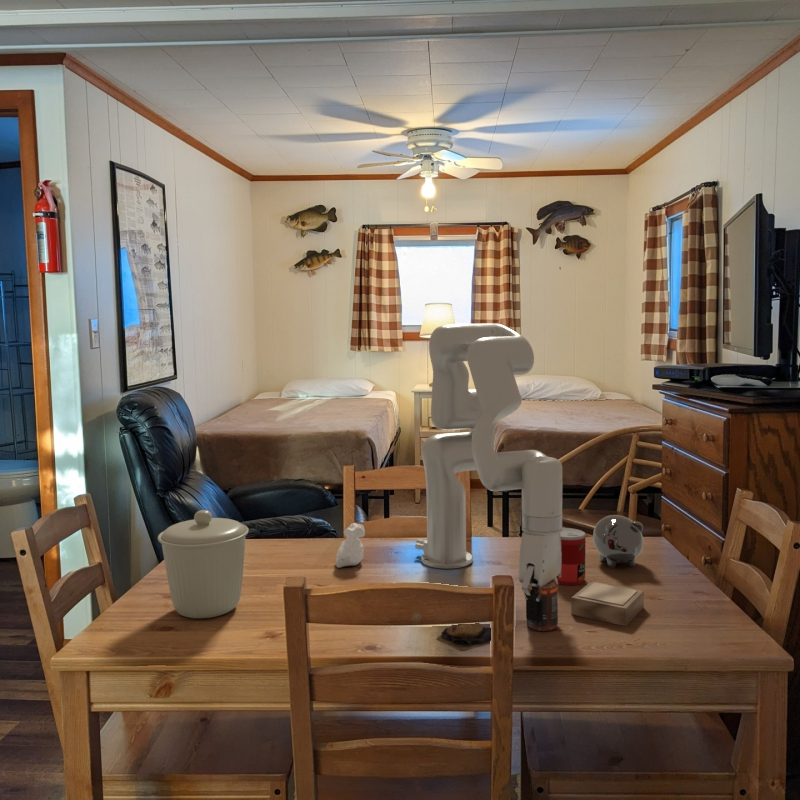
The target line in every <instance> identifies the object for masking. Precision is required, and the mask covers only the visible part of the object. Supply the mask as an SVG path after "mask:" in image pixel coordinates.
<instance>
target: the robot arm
mask: <svg viewBox="0 0 800 800" xmlns="http://www.w3.org/2000/svg"><path fill="white" fill-rule="evenodd" d="M428 343H429V344H428V351H429V358H430V362H431V366H432V385H431V399H430V400H431V402H430V403H431V404H430V419H431V423H432V425H433V426H434V427H435V428H436V429H437V430H442V431H455V430H456V431H457V430H467V429H468V430H470V431H465V432H464V431H463V432H447V433H446V432H445V433H438V434H433V435H432V436H429V437H428V438H426V439H425V440H424V441H423V443H422V446H421V457H422V459H421V460H422V463H423V467H424V475H425V476H424V477H425V486H426V487H425V489H426V492H425V493H426V494H425V495H426V540H425V539H420V538H417V540H416V542H415V545H414V548H415V550H416V549H417V550H421V551H423V554H422V555H421V557H420V559H421V563H422V564H424V565H425V566H426V567H430V568H435V569H442V570H443V569H447V570H448V569H450V570H451V569H459V568H464V567H467V566H469V565H470V564H472V562H473V555H472V554H471V553H470V552H468V551H467V528H466V527H467V520H466V519H467V513H466V512H467V511H466V510H467V509H466V507H467V505H466V490H465V487H464V484H463V482H461V481H460V478H459V477H458V476H457V474H458V473H461V472H470V471H477V474H478V477H479V480H480V482H481V484H482V485H483V487H485V489H487V490H489V491H491V492H503V491H505V492H506V491H513V490H521V531H522V534H521V540H520V547H519V559H518V580H519V583H521V589H522V592H523V593H524V599H525V613H526V614H525V617H526V620H527V619H529V620H534V621H538V622H541V621H543V601H541V596H542V589H543V586H544V585H545V584H547V583H548V582H550V581H551V580H553V579H554V580H555V581H556V582H557V589H559V584H558V577H559V574H560V572H561V564H562V552H561V536H560V532H562V528H563V464H562V462H561V461H560V460H559V459H558V458H555V457H551V456H547V455H546V454H544V452H542V451H540V450H538V449H525V450H511V451H500V452H499V451H498V452H495V449H494V446H495V438H496V437H495V435H496V425H497V422H499V421H500V420H502V419H504V418H506V417H508V416H510V415H511V414H513V413H515V411H516V410H518V409H519V408H520V406H521V405H522V401H523V400H522V396H521V393H520V390H519V387H518V383H517V380H516V377H515V376H522V375H527V374H528V373H530V372H531V370H532V369H533V367H534V364H535V356H534V351H533V348H532V345H531V344H530V342H529V341H528V339H527V338H525V336H523V335H522V334H520V333H519V332H517V331H515V330H513V329H511V328H509V327H507V326H505V325H503V324H501V323H491V322H490V323H451V324H449V323H448V324H445V325H441V326H438V327H436V328H435V329H434V330H433V331H432V333H431V334H430V337H429V342H428ZM465 362H467V364H468V367H469V370H470V372H469V370H468V367H467V366H466V363H465ZM470 374H471V378H472V382H473V385H474V388H470V389H469V382H470ZM533 580H536V581H538V583H537V584H535V583H532V581H533ZM532 586H534V587H538V588H537V593H536V592H535V590H533V589H532Z"/></svg>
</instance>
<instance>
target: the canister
mask: <svg viewBox="0 0 800 800" xmlns="http://www.w3.org/2000/svg"><path fill="white" fill-rule="evenodd" d="M249 530H250V529H249V527H248V526H247V525H245V524H244V523H241V522H240V521H238V520H234V519H230V518H223V517H213V515H212V512H211V511H210V510H207V509H201V510H198V511H196V512H195V513H194V516H193V519H188V520H185V521H180V522H178V523H175V524H174V523H173V524H172V525H170V526H168V527H167V528H166V529H165V530H163V531H162V532H160V533H159V534H158V535H157V541H158V542H159V543H160V544H161V547H162V555H163V559H164V564H165V571H166V578H167V584H168V588H169V594H170V597H171V598H170V599H171V602H172V605H173V608H174V609H175V611H176V613H178V614H179V615H180V616H183V617H186V618H190V619H210V618H217V617H219V616H222V615H225V614H227V613H229V612H232V611H233V610H234V609H235V608H236V607H237V606H238V604H239V602H240V599H241V595H242V587H243V577H244V565H245V564H244V562H245V549H246V545H245V544H246V536H247V535H248V533H249Z"/></svg>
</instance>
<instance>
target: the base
mask: <svg viewBox="0 0 800 800" xmlns="http://www.w3.org/2000/svg"><path fill="white" fill-rule="evenodd" d="M644 592H645V590H641V589H640V590H639V589H634V588H629V587H625V586H618V585H615V584H608V583H603V582H597V581H593V580H592V581H591V580H590V582H588V583H587V584H586V585H585V586H583V587H582V588H581V589H580V590H579V591H578V592H576V593H575V594H574V595H573V596H571V601H570V602H571V607H570V608H571V609H570V610H571V612H570V613H571V614H570V615H573V616H577V617H582V618H587V619H591V620H594V621H600V622H604V623H609V624H612V625H613V624H614V625H619V626H623V627H627V626H628V625H629V623H631V622H632V620H634V618H636V617H637V615H638V614H639V613H641V611H642V610H643V609H644V606H645V605H644V601H645V599H644V598H645V595H644Z"/></svg>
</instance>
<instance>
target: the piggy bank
mask: <svg viewBox="0 0 800 800" xmlns="http://www.w3.org/2000/svg"><path fill="white" fill-rule="evenodd" d="M643 530H644V525H643V523H641V522H640V521H637V520H632V519H630V518H629V517H626V516H625V515H619V514H612V515H611V514H609V515H607V516H604V517H603V518H601V519H599V521H598V522H597V523H596V524H595V527H594V528H593V534H592V539H593V545H594V547H595V549H596V550H597V552H598V553H599V560H600V561H601V562H605V563H606V562H607V563H606V564H607V566H608V568H615V567H616V566H617V564H618V563H626V564H627V566H628V567H635V566H636V558H637V557H638V556H639V555H640V554H641V553H642V551H643V547H644V537H643V534H642V532H643Z"/></svg>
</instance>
